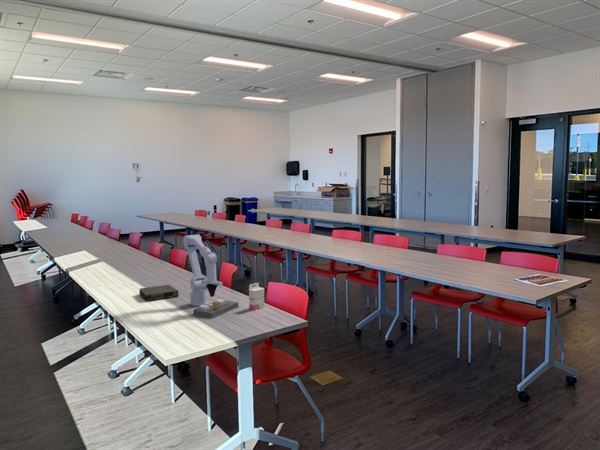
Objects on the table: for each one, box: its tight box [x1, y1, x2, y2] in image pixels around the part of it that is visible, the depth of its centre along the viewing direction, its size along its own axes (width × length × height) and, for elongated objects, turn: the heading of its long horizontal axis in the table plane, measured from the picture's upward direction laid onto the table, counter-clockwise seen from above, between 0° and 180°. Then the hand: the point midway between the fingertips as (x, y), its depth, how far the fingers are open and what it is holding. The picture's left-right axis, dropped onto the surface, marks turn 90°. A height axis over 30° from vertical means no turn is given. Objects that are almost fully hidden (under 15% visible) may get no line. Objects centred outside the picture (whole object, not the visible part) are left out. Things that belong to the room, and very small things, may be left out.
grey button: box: [198, 305, 209, 310], centre depth 261 cm, size 4×4×2 cm
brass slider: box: [211, 300, 220, 309], centre depth 260 cm, size 3×3×4 cm
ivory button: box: [215, 298, 226, 304], centre depth 274 cm, size 4×4×2 cm
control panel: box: [192, 299, 239, 319], centre depth 266 cm, size 14×24×3 cm, turn 150°
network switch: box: [139, 284, 179, 302], centre depth 303 cm, size 23×24×5 cm
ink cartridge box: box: [248, 282, 265, 311], centre depth 270 cm, size 9×5×15 cm, turn 141°
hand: (212, 296), depth 267 cm, fingers closed
